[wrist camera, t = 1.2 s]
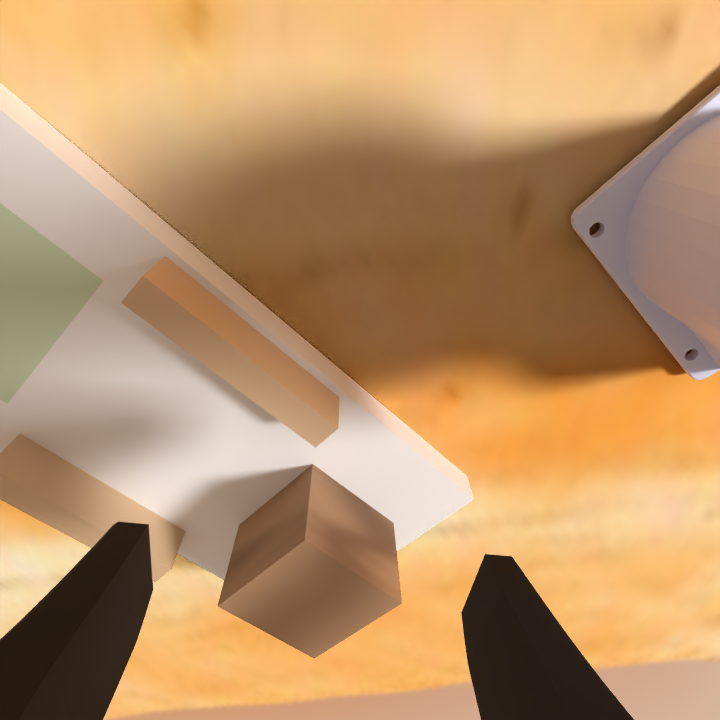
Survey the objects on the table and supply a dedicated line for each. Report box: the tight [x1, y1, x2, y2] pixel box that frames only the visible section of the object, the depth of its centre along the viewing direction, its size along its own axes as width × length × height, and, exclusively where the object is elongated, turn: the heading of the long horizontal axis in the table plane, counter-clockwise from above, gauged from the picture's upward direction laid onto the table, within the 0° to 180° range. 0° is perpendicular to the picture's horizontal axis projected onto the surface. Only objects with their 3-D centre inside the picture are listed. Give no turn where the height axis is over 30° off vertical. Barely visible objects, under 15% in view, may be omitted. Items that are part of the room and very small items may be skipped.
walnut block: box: [218, 464, 402, 658], centre depth 20 cm, size 5×5×4 cm
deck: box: [0, 83, 474, 582], centre depth 18 cm, size 32×12×4 cm, turn 45°
